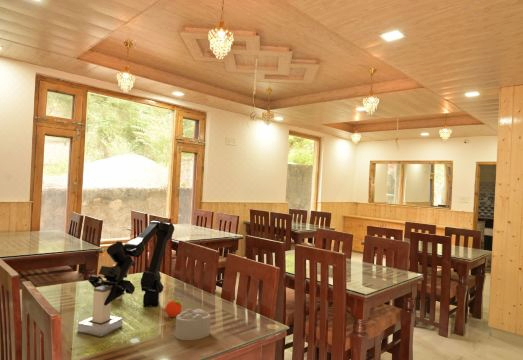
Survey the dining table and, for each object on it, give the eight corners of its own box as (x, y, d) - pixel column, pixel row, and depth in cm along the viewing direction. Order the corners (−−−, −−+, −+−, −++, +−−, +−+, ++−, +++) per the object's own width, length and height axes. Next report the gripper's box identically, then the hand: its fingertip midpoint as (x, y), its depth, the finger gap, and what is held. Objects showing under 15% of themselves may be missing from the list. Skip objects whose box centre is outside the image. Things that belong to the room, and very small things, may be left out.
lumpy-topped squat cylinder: (212, 335, 137) (214, 312, 137) (182, 343, 128) (184, 319, 128) (198, 326, 144) (200, 304, 145) (169, 333, 136) (170, 310, 136)
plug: (100, 317, 138) (102, 285, 139) (110, 319, 137) (112, 286, 137) (91, 321, 134) (94, 288, 134) (101, 323, 133) (103, 289, 133)
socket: (99, 322, 142) (99, 313, 142) (121, 326, 139) (122, 318, 139) (77, 332, 132) (78, 323, 132) (101, 337, 129) (102, 328, 129)
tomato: (186, 315, 155) (187, 299, 155) (178, 321, 149) (179, 304, 149) (170, 312, 157) (171, 296, 158) (161, 318, 151) (162, 301, 151)
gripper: (93, 255, 143) (68, 289, 132) (132, 260, 137) (110, 296, 126) (105, 270, 150) (83, 304, 139) (143, 276, 145) (123, 311, 134)
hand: (99, 304), depth 135 cm, fingers closed on plug, 4 cm apart
